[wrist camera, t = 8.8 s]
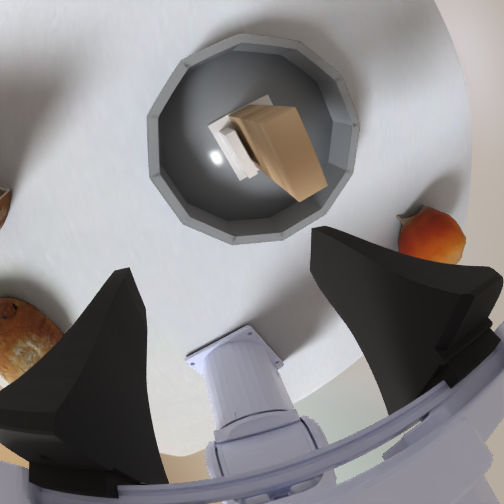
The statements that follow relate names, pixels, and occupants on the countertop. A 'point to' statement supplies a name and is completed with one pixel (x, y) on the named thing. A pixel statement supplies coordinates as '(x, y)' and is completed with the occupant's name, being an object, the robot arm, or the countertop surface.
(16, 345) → the bread roll
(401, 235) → the fruit
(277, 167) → the tan wooden beam
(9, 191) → the food container
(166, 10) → the countertop surface
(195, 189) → the grey faceted hollow container
